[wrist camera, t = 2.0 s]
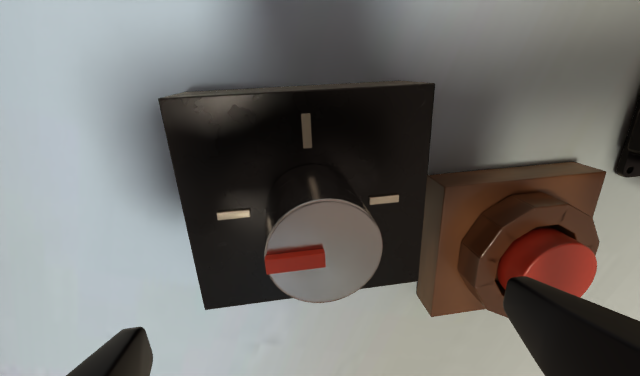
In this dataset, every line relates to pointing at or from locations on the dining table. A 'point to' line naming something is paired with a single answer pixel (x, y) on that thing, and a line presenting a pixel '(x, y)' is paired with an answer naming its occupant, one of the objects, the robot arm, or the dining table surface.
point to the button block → (496, 227)
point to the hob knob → (319, 236)
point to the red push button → (549, 261)
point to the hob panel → (287, 153)
